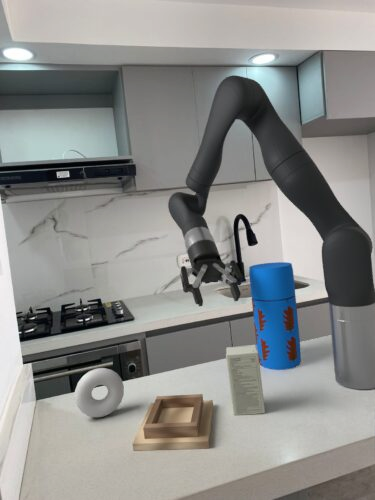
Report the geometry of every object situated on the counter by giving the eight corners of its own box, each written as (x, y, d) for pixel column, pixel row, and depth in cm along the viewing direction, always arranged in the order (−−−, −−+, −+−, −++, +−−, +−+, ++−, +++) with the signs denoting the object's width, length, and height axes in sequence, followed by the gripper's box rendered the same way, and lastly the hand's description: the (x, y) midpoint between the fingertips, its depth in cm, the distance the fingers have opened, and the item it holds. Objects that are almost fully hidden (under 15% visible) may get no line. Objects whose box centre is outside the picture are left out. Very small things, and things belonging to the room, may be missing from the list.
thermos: (298, 352, 96) (290, 261, 95) (304, 369, 86) (294, 266, 84) (257, 354, 98) (248, 264, 97) (258, 370, 88) (248, 270, 86)
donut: (125, 405, 78) (119, 361, 77) (128, 413, 74) (122, 366, 74) (77, 418, 75) (71, 371, 74) (78, 426, 71) (71, 377, 71)
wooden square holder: (213, 405, 73) (211, 390, 73) (208, 448, 60) (206, 429, 59) (151, 408, 75) (149, 393, 75) (133, 450, 61) (131, 432, 61)
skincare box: (263, 402, 72) (257, 344, 72) (265, 414, 68) (259, 352, 67) (231, 404, 73) (225, 346, 72) (232, 416, 69) (225, 354, 68)
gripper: (175, 241, 87) (190, 296, 76) (230, 235, 90) (252, 287, 79) (173, 261, 92) (187, 315, 82) (225, 255, 95) (245, 306, 85)
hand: (219, 301), depth 81 cm, fingers open, 8 cm apart
